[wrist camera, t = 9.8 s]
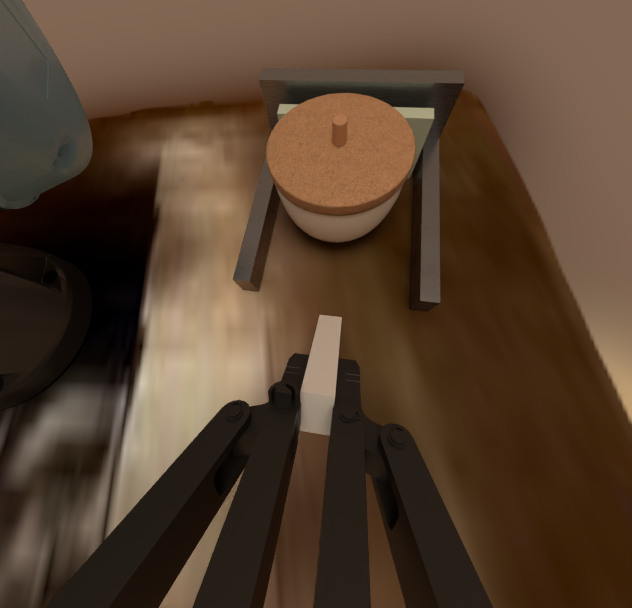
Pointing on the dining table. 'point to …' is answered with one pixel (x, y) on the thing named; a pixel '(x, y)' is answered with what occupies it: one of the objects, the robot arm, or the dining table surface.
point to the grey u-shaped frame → (414, 93)
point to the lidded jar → (340, 163)
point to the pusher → (415, 117)
